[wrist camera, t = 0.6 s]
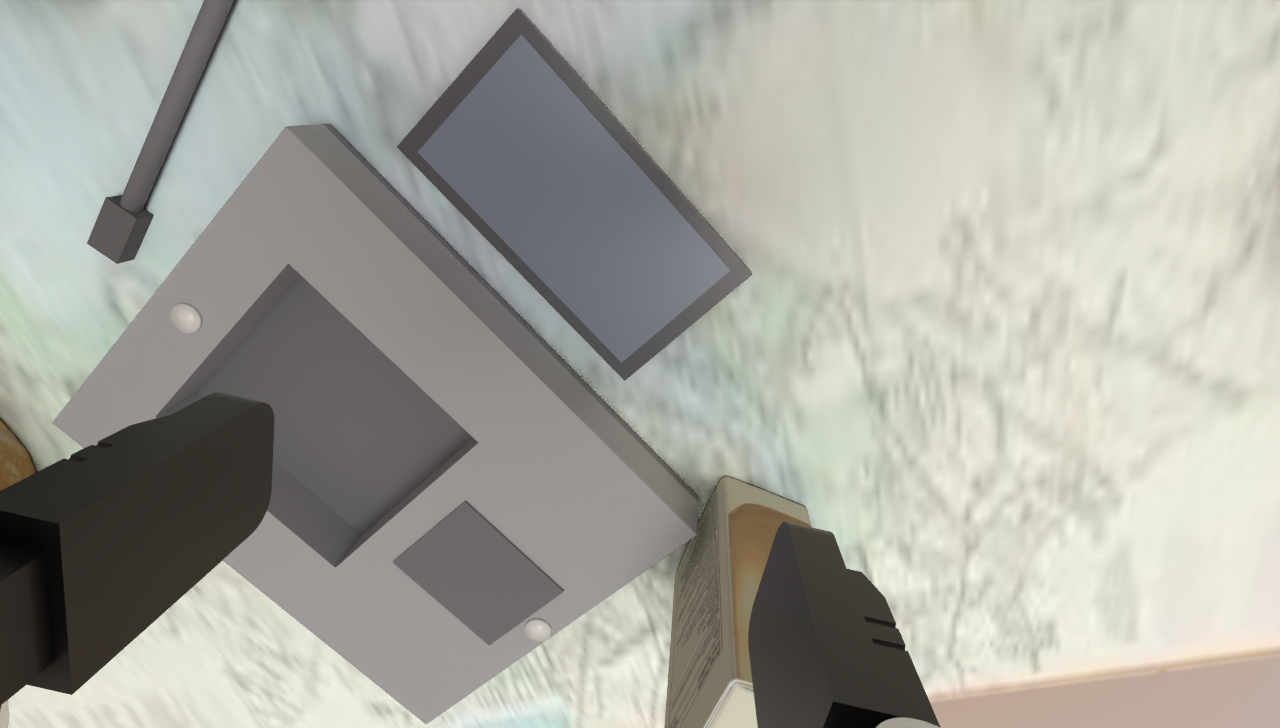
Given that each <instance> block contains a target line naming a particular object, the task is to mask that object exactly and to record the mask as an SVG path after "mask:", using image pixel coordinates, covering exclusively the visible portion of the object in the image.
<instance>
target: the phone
mask: <svg viewBox="0 0 1280 728" xmlns="http://www.w3.org/2000/svg"><path fill="white" fill-rule="evenodd" d="M397 147H398V149H399V150H400V151H401V152H402V153H403V154H404V155H405V156H406V157H407V158H408V159H409V160H410V161H411V162H412V163H413V164H414V165H415V166H416V167H417V168H418V169H419V170H420V171H421V172H422V173H423V174H424V175H425V176H426V177H427V178H428V179H429V180H430V181H431V182H432V183H433V184H434V185H435V186H436V187H437V189H438V190H439V191H440V192H441V193H442V194H443V195H444V196H445V197H446V198H447V199H448V200H449V201H450V202H451V203H452V204H453V205H454V206H455V207H456V208H457V209H458V210H459V211H460V212H461V213H462V214H463V215H464V216H465V217H466V218H467V219H468V220H469V221H470V222H471V223H472V224H473V225H474V226H475V228H476V229H477V230H478V231H479V232H480V233H481V234H482V235H483V236H484V237H485V238H486V239H487V240H488V241H489V242H490V243H491V244H492V245H493V246H494V247H495V248H496V249H497V250H498V251H499V252H500V253H501V254H502V255H503V256H504V257H505V258H506V259H507V260H508V261H509V262H510V263H511V264H512V265H513V266H514V268H515V269H516V270H517V271H518V272H519V273H520V274H521V275H522V276H523V277H524V278H525V279H526V280H527V281H528V282H529V283H530V284H531V285H532V286H533V287H534V288H535V289H536V290H537V291H538V292H539V293H540V294H541V295H542V296H543V297H544V298H545V299H546V300H547V301H548V302H549V303H550V304H551V305H552V307H553V308H554V309H555V310H556V311H557V312H558V313H559V314H560V315H561V316H562V317H563V318H564V319H565V320H566V321H567V322H568V323H569V324H570V325H571V326H572V327H573V328H574V329H575V330H576V331H577V332H578V333H579V334H580V335H581V336H582V337H583V338H584V339H585V340H586V341H587V342H588V343H589V344H590V345H591V347H592V348H593V349H594V350H595V351H596V352H597V353H598V354H599V355H600V356H601V357H602V358H603V359H604V360H605V361H606V362H607V363H608V364H609V365H610V366H611V367H612V368H613V369H614V370H615V371H616V372H617V373H618V374H619V375H620V376H621V377H622V378H623V379H624V380H626V379H627V378H628V377H630V376H631V375H632V374H633V373H634V372H636V371H637V370H638V369H639V368H640V367H642V366H643V365H644V364H645V363H646V362H648V361H649V360H650V359H651V358H652V357H654V356H655V355H656V354H657V353H658V352H660V351H661V350H662V349H663V348H664V347H666V346H667V345H668V344H669V343H670V342H672V341H673V340H674V339H675V338H676V337H678V336H679V335H680V334H681V333H682V332H684V331H685V330H686V329H687V328H688V327H690V326H691V325H692V324H693V323H694V322H696V321H697V320H698V319H699V318H700V317H702V316H703V315H704V314H705V313H706V312H708V311H709V310H710V309H711V308H712V307H714V306H715V305H716V304H717V303H718V302H720V301H721V300H722V299H723V298H724V297H726V296H727V295H728V294H729V293H730V292H732V291H733V290H734V289H735V288H736V287H738V286H739V285H740V284H741V283H742V282H744V281H745V280H746V279H747V278H748V277H750V276H751V275H752V273H751V271H750V270H749V269H748V268H747V266H746V265H745V264H744V263H743V262H742V261H741V260H740V258H739V257H738V256H737V255H736V254H735V253H734V252H733V250H732V249H731V248H730V247H729V246H728V245H727V244H726V243H725V241H724V240H723V239H722V238H721V237H720V236H719V235H718V233H717V232H716V231H715V230H714V229H713V228H712V227H711V225H710V224H709V223H708V222H707V221H706V220H705V219H704V217H703V216H702V215H701V214H700V213H699V212H698V211H697V210H696V208H695V207H694V206H693V205H692V204H691V203H690V202H689V200H688V199H687V198H686V197H685V196H684V195H683V194H682V192H681V191H680V190H679V189H678V188H677V187H676V186H675V184H674V183H673V182H672V181H671V180H670V179H669V178H668V177H667V175H666V174H665V173H664V172H663V171H662V170H661V169H660V167H659V166H658V165H657V164H656V163H655V162H654V161H653V159H652V158H651V157H650V156H649V155H648V154H647V153H646V151H645V150H644V149H643V148H642V147H641V146H640V145H639V144H638V142H637V141H636V140H635V139H634V138H633V137H632V136H631V134H630V133H629V132H628V131H627V130H626V129H625V128H624V126H623V125H622V124H621V123H620V122H619V121H618V120H617V118H616V117H615V116H614V115H613V114H612V113H611V112H610V111H609V109H608V108H607V107H606V106H605V105H604V104H603V103H602V101H601V100H600V99H599V98H598V97H597V96H596V95H595V93H594V92H593V91H592V90H591V89H590V88H589V87H588V85H587V84H586V83H585V82H584V81H583V80H582V79H581V77H580V76H579V75H578V74H577V73H576V72H575V71H574V70H573V68H572V67H571V66H570V65H569V64H568V63H567V62H566V60H565V59H564V58H563V57H562V56H561V55H560V54H559V52H558V51H557V50H556V49H555V48H554V47H553V46H552V44H551V43H550V42H549V41H548V40H547V39H546V38H545V37H544V35H543V34H542V33H541V32H540V31H539V30H538V29H537V27H536V26H535V25H534V24H533V23H532V22H531V21H530V19H529V18H528V17H527V16H526V15H525V14H524V13H523V11H522V10H521V9H518V8H517V9H516V10H515V12H514V13H513V14H512V15H511V16H510V17H509V18H508V20H507V21H506V22H505V23H504V24H503V25H502V27H501V28H500V29H499V30H498V31H497V32H496V33H495V35H494V36H493V37H492V38H491V39H490V40H489V42H488V43H487V44H486V45H485V46H484V47H483V48H482V50H481V51H480V52H479V53H478V54H477V55H476V57H475V58H474V59H473V60H472V61H471V62H470V63H469V65H468V66H467V67H466V68H465V69H464V70H463V71H462V73H461V74H460V75H459V76H458V77H457V78H456V80H455V81H454V82H453V83H452V84H451V85H450V86H449V88H448V89H447V90H446V91H445V92H444V93H443V95H442V96H441V97H440V98H439V99H438V100H437V101H436V103H435V104H434V105H433V106H432V107H431V108H430V110H429V111H428V112H427V113H426V114H425V115H424V116H423V118H422V119H421V120H420V121H419V122H418V123H417V125H416V126H415V127H414V128H413V129H412V130H411V131H410V133H409V134H408V135H407V136H406V137H405V138H404V140H403V141H402V142H401V143H400V144H399V145H398V146H397Z"/></svg>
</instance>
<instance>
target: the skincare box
mask: <svg viewBox="0 0 1280 728" xmlns="http://www.w3.org/2000/svg"><path fill="white" fill-rule="evenodd" d="M782 522H789V523H794V524H798V525H803V526H807V527H811V523H810V519H809V515H808V511H807V509H806V507H804V506H802V505H799V504H797V503H794V502H792V501H789V500H787V499H785V498H782V497H780V496H777V495H775V494H773V493H770V492H767V491H765V490H762V489H760V488H757V487H755V486H752V485H749V484H747V483H744V482H741V481H739V480H736V479H733V478H730V477H727V476H725V477H723V478H721V480H720V481H719V483H718V485H717V487H716V489H715V491H714V493H713V495H712V497H711V499H710V501H709V502H708V504H707V506H706V508H705V510H704V512H703V514H702V517H701V519H700V521H699V523H698V525H697V535H696V536H694V537H693V538H692V539H691V540H690V542H689V544H688V547H687V549H686V551H685V553H684V556H683V558H682V560H681V563H680V565H679V567H678V570H677V572H676V575H675V586H674V600H673V616H672V631H671V645H670V659H669V674H668V688H667V701H666V716H665V728H758V726H757V717H756V709H755V700H754V691H753V683H752V674H751V665H750V657H749V648H748V632H749V622H750V616H751V611H752V607H753V603H754V600H755V597H756V594H757V591H758V588H759V584H760V581H761V578H762V575H763V572H764V569H765V566H766V563H767V560H768V557H769V553H770V550H771V547H772V544H773V541H774V538H775V535H776V532H777V530H778V528H779V526H780V525H781V523H782Z"/></svg>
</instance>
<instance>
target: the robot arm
mask: <svg viewBox="0 0 1280 728" xmlns="http://www.w3.org/2000/svg"><path fill="white" fill-rule="evenodd" d="M273 445H274V413H273V410H272V408H271V406H270V405H269V404H267V403H264V402H260V401H255V400H251V399H246V398H242V397H238V396H233V395H229V394H224V393H219V392H216V393H212V394H210V395H208V396H206V397H204V398H202V399H200V400H198V401H196V402H194V403H192V404H190V405H189V406H187V407H185V408H183V409H181V410H179V411H177V412H175V413H173V414H171V415H167V416H163V417H160V418H156V419H152V420H148V421H144V422H141V423H137V424H133V425H130V426H128V427H126V428H124V429H122V430H120V431H118V432H116V433H114V434H112V435H110V436H108V437H106V438H104V439H102V440H100V441H98V444H97V445H96V446H95V445H90V446H88V447H86V448H84V449H82V450H80V451H78V452H76V453H74V454H72V455H71V457H70V459H69V460H67V459H62V460H60V461H58V462H56V463H54V464H52V465H50V466H48V467H46V468H44V469H43V470H41V471H39V472H37V473H35V474H33V475H31V476H29V477H27V478H25V479H23V480H21V481H19V482H17V483H15V484H13V485H11V486H9V487H7V488H5V489H3V490H1V491H0V728H8V724H9V706H8V699H9V698H10V697H12V696H13V695H14V694H15V693H17V692H18V691H19V690H20V689H21V688H23V687H24V686H25V685H26V684H27V685H31V686H36V687H40V688H44V689H49V690H53V691H58V692H62V693H67V694H71V695H72V694H73V693H74V692H76V691H77V690H78V689H79V688H80V687H81V686H82V685H83V684H84V683H86V682H87V681H88V680H89V679H90V678H91V677H92V676H93V675H95V674H96V673H97V672H98V671H99V670H100V669H101V668H102V667H103V666H105V665H106V664H107V663H108V662H109V661H110V660H111V659H112V658H114V657H115V656H116V655H117V654H118V653H119V652H120V651H121V650H123V649H124V648H125V647H126V646H127V645H128V644H129V643H130V642H131V641H133V640H134V639H135V638H136V637H137V636H138V635H139V634H140V633H142V632H143V631H144V630H145V629H146V628H147V627H148V626H149V625H150V624H152V623H153V622H154V621H155V620H156V619H157V618H158V617H159V616H161V615H162V614H163V613H164V612H165V611H166V610H167V609H168V608H170V607H171V606H172V605H173V604H174V603H175V602H176V601H177V600H178V599H180V598H181V597H182V596H183V595H184V594H185V593H186V592H187V591H189V590H190V589H191V588H192V587H193V586H194V585H195V584H196V583H197V582H199V581H200V580H201V579H202V578H203V577H204V576H205V575H206V574H208V573H209V572H210V571H211V570H212V569H213V568H214V567H215V566H217V565H218V564H219V563H220V562H221V561H222V560H223V559H224V558H225V557H227V556H228V555H229V554H230V553H231V552H232V551H233V550H234V549H236V548H237V547H238V546H239V545H240V544H241V543H242V542H243V541H244V540H246V539H247V538H248V537H249V536H250V535H251V534H252V533H253V532H254V531H255V530H256V529H257V528H258V526H259V525H260V523H261V522H262V520H263V518H264V516H265V514H266V512H267V509H268V506H269V503H270V498H271V491H272V468H273ZM895 626H896V622H895V620H894V618H893V615H892V613H891V611H890V608H889V606H888V604H887V601H886V599H885V597H884V596H883V595H882V594H881V593H880V592H879V591H878V589H877V588H876V587H875V586H874V585H873V584H872V583H871V582H870V581H869V580H868V578H867V577H866V576H865V575H864V574H863V573H862V572H859V571H854V570H850V569H846V567H845V564H844V561H843V558H842V556H841V553H840V550H839V547H838V545H837V542H836V539H835V537H834V535H833V533H832V532H829V531H825V530H820V529H816V528H812V527H807V526H803V525H798V524H794V523H789V522H782V523H781V525H780V526H779V528H778V530H777V532H776V535H775V538H774V541H773V544H772V547H771V550H770V553H769V557H768V560H767V563H766V566H765V569H764V572H763V575H762V578H761V581H760V584H759V588H758V591H757V594H756V597H755V600H754V603H753V607H752V611H751V616H750V622H749V632H748V648H749V657H750V665H751V674H752V683H753V691H754V700H755V709H756V717H757V726H758V728H940V725H939V723H938V721H937V719H936V716H935V714H934V712H933V709H932V707H931V704H930V702H929V700H928V697H927V695H926V693H925V690H924V688H923V686H922V683H921V681H920V679H919V676H918V674H917V672H916V669H915V667H914V665H913V662H912V660H911V658H910V655H909V653H908V651H905V644H904V641H903V639H902V636H901V634H900V632H899V629H897V628H895Z"/></svg>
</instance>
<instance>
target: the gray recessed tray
mask: <svg viewBox="0 0 1280 728" xmlns="http://www.w3.org/2000/svg"><path fill="white" fill-rule="evenodd" d="M216 392H219V393H224V394H229V395H233V396H238V397H242V398H246V399H251V400H255V401H260V402H264V403H267V404H269V405H270V406H271V408H272V410H273V413H274V445H273V468H272V491H271V498H270V503H269V506H268V509H267V512H266V514H265V516H264V518H263V520H262V522H261V523H260V525H259V526H258V528H257V529H256V530H255V531H254V532H253V533H252V534H251V535H250V536H249V537H248V538H247V539H246V540H244V541H243V542H242V543H241V544H240V545H239V546H238V547H237V548H236V549H234V550H233V551H232V552H231V553H230V554H229V555H228V556H227V557H225V558H224V559H223V561H224V562H225V563H227V564H228V565H229V566H230V567H232V568H233V569H234V570H235V571H237V572H238V573H239V574H240V575H242V576H243V577H244V578H245V579H247V580H248V581H249V582H250V583H251V584H253V585H254V586H255V587H256V588H258V589H259V590H260V591H261V592H263V593H264V594H265V595H266V596H268V597H269V598H270V599H271V600H273V601H274V602H275V603H276V604H277V605H279V606H280V607H281V608H282V609H284V610H285V611H286V612H287V613H289V614H290V615H291V616H292V617H294V618H295V619H296V620H297V621H299V622H300V623H301V624H302V625H303V626H305V627H306V628H307V629H308V630H310V631H311V632H312V633H313V634H315V635H316V636H317V637H318V638H320V639H321V640H322V641H323V642H325V643H326V644H327V645H328V646H329V647H331V648H332V649H333V650H334V651H336V652H337V653H338V654H339V655H341V656H342V657H343V658H344V659H346V660H347V661H348V662H349V663H351V664H352V665H353V666H354V667H355V668H357V669H358V670H359V671H360V672H362V673H363V674H364V675H365V676H367V677H368V678H369V679H370V680H372V681H373V682H374V683H375V684H377V685H378V686H379V687H380V688H382V689H383V690H384V691H385V692H386V693H388V694H389V695H390V696H391V697H393V698H394V699H395V700H396V701H398V702H399V703H400V704H401V705H403V706H404V707H405V708H406V709H408V710H409V711H410V712H411V713H412V714H414V715H415V716H416V717H417V718H419V719H420V720H421V721H422V722H424V723H425V724H427V723H429V722H430V721H432V720H433V719H435V718H436V717H437V716H439V715H440V714H442V713H443V712H445V711H446V710H447V709H449V708H450V707H452V706H453V705H455V704H456V703H457V702H459V701H460V700H462V699H463V698H465V697H466V696H467V695H469V694H470V693H472V692H473V691H475V690H476V689H477V688H479V687H480V686H482V685H483V684H485V683H486V682H487V681H489V680H490V679H492V678H493V677H495V676H496V675H497V674H499V673H500V672H502V671H503V670H505V669H506V668H507V667H509V666H510V665H512V664H513V663H515V662H516V661H517V660H519V659H520V658H522V657H523V656H525V655H526V654H527V653H529V652H530V651H532V650H533V649H534V648H536V647H537V646H539V645H540V644H542V643H543V642H544V641H546V640H547V639H549V638H550V637H552V636H553V635H554V634H556V633H557V632H559V631H560V630H562V629H563V628H564V627H566V626H567V625H569V624H570V623H572V622H573V621H574V620H576V619H577V618H579V617H580V616H582V615H583V614H584V613H586V612H587V611H589V610H590V609H592V608H593V607H594V606H596V605H597V604H599V603H600V602H602V601H603V600H604V599H606V598H607V597H609V596H610V595H612V594H613V593H614V592H616V591H617V590H619V589H620V588H622V587H623V586H624V585H626V584H627V583H629V582H630V581H632V580H633V579H634V578H636V577H637V576H639V575H640V574H642V573H643V572H644V571H646V570H647V569H649V568H650V567H652V566H653V565H654V564H656V563H657V562H659V561H660V560H662V559H663V558H664V557H666V556H667V555H669V554H670V553H672V552H673V551H674V550H676V549H677V548H679V547H680V546H682V545H683V544H684V543H686V542H687V541H689V540H690V539H692V538H693V537H694V536H696V535H697V511H698V496H697V495H696V494H695V493H694V492H693V491H692V490H691V489H690V488H689V487H688V486H687V485H686V484H685V483H684V481H683V480H682V479H681V478H680V477H679V476H678V475H677V474H676V473H675V472H674V471H673V470H672V469H671V468H670V467H669V466H668V465H667V464H666V463H665V462H664V461H663V460H662V459H661V458H660V457H659V456H658V455H657V454H656V453H655V452H654V451H653V450H652V449H651V448H650V447H649V446H648V445H647V444H646V443H645V442H644V441H643V440H642V439H641V438H640V437H639V436H638V435H637V434H636V433H635V432H634V431H633V430H632V429H631V428H630V427H629V426H628V425H627V424H626V423H625V422H624V421H623V420H622V419H621V418H620V417H619V416H618V415H617V414H616V413H615V412H614V411H613V410H612V409H611V408H610V407H609V406H608V405H607V404H606V403H605V402H604V401H603V400H602V398H601V397H600V396H599V395H598V394H597V393H596V392H595V391H594V390H593V389H592V388H591V387H590V386H589V385H588V384H587V383H586V382H585V381H584V380H583V379H582V378H581V377H580V376H579V375H578V374H577V373H576V372H575V371H574V370H573V369H572V368H571V367H570V366H569V365H568V364H567V363H566V362H565V361H564V360H563V359H562V358H561V357H560V356H559V355H558V354H557V353H556V352H555V351H554V350H553V349H552V348H551V347H550V346H549V345H548V344H547V343H546V342H545V341H544V340H543V339H542V338H541V337H540V336H539V335H538V334H537V333H536V332H535V331H534V330H533V329H532V328H531V327H530V326H529V325H528V324H527V323H526V322H525V321H524V320H523V319H522V318H521V317H520V316H519V314H518V313H517V312H516V311H515V310H514V309H513V308H512V307H511V306H510V305H509V304H508V303H507V302H506V301H505V300H504V299H503V298H502V297H501V296H500V295H499V294H498V293H497V292H496V291H495V290H494V289H493V288H492V287H491V286H490V285H489V284H488V283H487V282H486V281H485V280H484V279H483V278H482V277H481V276H480V275H479V274H478V273H477V272H476V271H475V270H474V269H473V268H472V267H471V266H470V265H469V264H468V263H467V262H466V261H465V260H464V259H463V258H462V257H461V256H460V255H459V254H458V253H457V252H456V251H455V250H454V249H453V248H452V247H451V246H450V245H449V244H448V243H447V242H446V241H445V240H444V239H443V238H442V237H441V236H440V235H439V234H438V233H437V231H436V230H435V229H434V228H433V227H432V226H431V225H430V224H429V223H428V222H427V221H426V220H425V219H424V218H423V217H422V216H421V215H420V214H419V213H418V212H417V211H416V210H415V209H414V208H413V207H412V206H411V205H410V204H409V203H408V202H407V201H406V200H405V199H404V198H403V197H402V196H401V195H400V194H399V193H398V192H397V191H396V190H395V189H394V188H393V187H392V186H391V185H390V184H389V183H388V182H387V181H386V180H385V179H384V178H383V177H382V176H381V175H380V174H379V173H378V172H377V171H376V170H375V169H374V168H373V167H372V166H371V165H370V164H369V163H368V162H367V161H366V160H365V159H364V158H363V157H362V156H361V155H360V154H359V153H358V152H357V151H356V150H355V149H354V147H353V146H352V145H351V144H350V143H349V142H348V141H347V140H346V139H345V138H344V137H343V136H342V135H341V134H340V133H339V132H338V131H337V130H336V129H335V128H334V127H333V126H332V125H331V124H321V125H305V126H289V127H285V129H284V130H283V131H282V133H281V134H280V135H279V136H278V138H277V139H276V140H275V141H274V143H273V144H272V145H271V146H270V148H269V149H268V150H267V151H266V153H265V154H264V155H263V157H262V158H261V159H260V160H259V162H258V163H257V164H256V165H255V167H254V168H253V169H252V170H251V172H250V173H249V174H248V176H247V177H246V178H245V179H244V181H243V182H242V183H241V184H240V186H239V187H238V188H237V189H236V191H235V192H234V193H233V195H232V196H231V197H230V198H229V200H228V201H227V202H226V203H225V205H224V206H223V207H222V208H221V210H220V211H219V212H218V214H217V215H216V216H215V217H214V219H213V220H212V221H211V222H210V224H209V225H208V226H207V227H206V229H205V230H204V231H203V233H202V234H201V235H200V236H199V238H198V239H197V240H196V241H195V243H194V244H193V245H192V246H191V248H190V249H189V250H188V252H187V253H186V254H185V255H184V257H183V258H182V259H181V260H180V262H179V263H178V264H177V265H176V267H175V268H174V269H173V270H172V272H171V273H170V274H169V276H168V277H167V278H166V279H165V281H164V282H163V283H162V284H161V286H160V287H159V288H158V289H157V291H156V292H155V293H154V295H153V296H152V297H151V298H150V300H149V301H148V302H147V303H146V305H145V306H144V307H143V308H142V310H141V311H140V312H139V314H138V315H137V316H136V317H135V319H134V320H133V321H132V322H131V324H130V325H129V326H128V327H127V329H126V330H125V331H124V333H123V334H122V335H121V336H120V338H119V339H118V340H117V341H116V343H115V344H114V345H113V346H112V348H111V349H110V350H109V352H108V353H107V354H106V355H105V357H104V358H103V359H102V360H101V362H100V363H99V364H98V365H97V367H96V368H95V369H94V371H93V372H92V373H91V374H90V376H89V377H88V378H87V379H86V381H85V382H84V383H83V384H82V386H81V387H80V388H79V389H78V391H77V392H76V393H75V395H74V396H73V397H72V398H71V400H70V401H69V402H68V403H67V405H66V406H65V407H64V408H63V410H62V411H61V412H60V414H59V415H58V416H57V417H56V419H55V420H54V421H53V422H52V423H53V424H55V425H56V426H57V427H58V428H60V429H61V430H62V431H63V432H65V433H66V434H67V435H68V436H69V437H71V438H72V439H73V440H74V441H76V442H77V443H78V444H79V445H81V446H82V447H83V448H86V447H88V446H90V445H95V446H96V445H97V444H98V441H100V440H102V439H104V438H106V437H108V436H110V435H112V434H114V433H116V432H118V431H120V430H122V429H124V428H126V427H128V426H130V425H133V424H137V423H141V422H144V421H148V420H152V419H156V418H160V417H163V416H167V415H171V414H173V413H175V412H177V411H179V410H181V409H183V408H185V407H187V406H189V405H190V404H192V403H194V402H196V401H198V400H200V399H202V398H204V397H206V396H208V395H210V394H212V393H216Z"/></svg>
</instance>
